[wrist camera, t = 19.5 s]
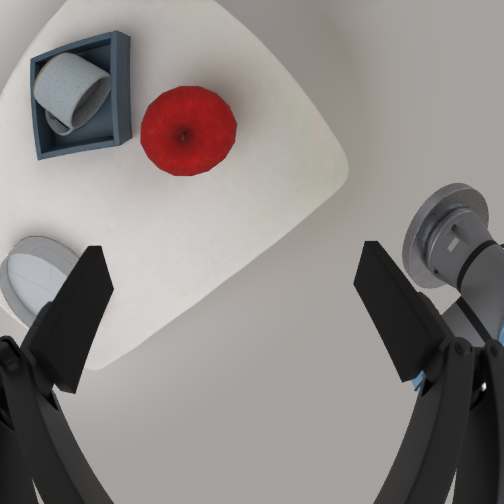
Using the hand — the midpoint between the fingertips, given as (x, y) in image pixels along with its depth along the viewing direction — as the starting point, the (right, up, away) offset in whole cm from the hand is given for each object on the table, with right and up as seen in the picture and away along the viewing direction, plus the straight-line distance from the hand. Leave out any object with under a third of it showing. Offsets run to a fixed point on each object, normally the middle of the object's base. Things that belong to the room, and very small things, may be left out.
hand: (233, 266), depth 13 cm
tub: (-21, +21, +14) cm, 33 cm away
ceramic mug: (-21, +21, +13) cm, 32 cm away
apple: (-6, +17, +19) cm, 26 cm away
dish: (-37, -6, +30) cm, 48 cm away
